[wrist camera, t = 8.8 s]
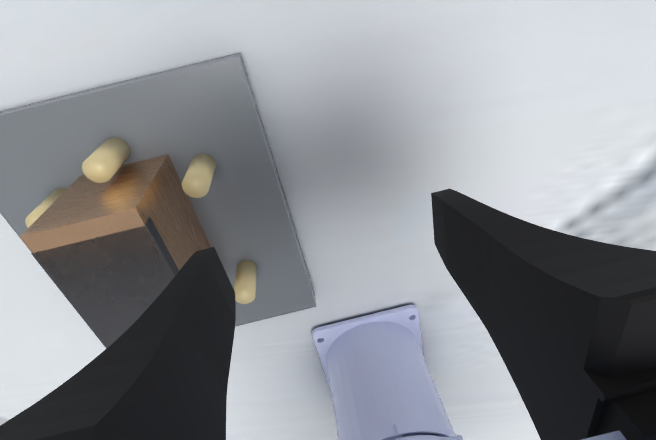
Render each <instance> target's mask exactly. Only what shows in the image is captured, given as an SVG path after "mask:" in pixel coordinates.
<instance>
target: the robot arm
mask: <svg viewBox="0 0 656 440" xmlns="http://www.w3.org/2000/svg"><path fill="white" fill-rule="evenodd" d="M431 195H432V210H433V225H434V240H435V245H436V247H437V250H438V252H439V254H440V256H441V258H442V260H443V262H444V264H445V266H446V268H447V270H448V271H449V273H450V274H451V276H452V277H453V279H454V280H455V282H456V283H457V285H458V286H459V288H460V289H461V291H462V292H463V294H464V295H465V297H466V298H467V300H468V301H469V303H470V304H471V306H472V307H473V309H474V310H475V312H476V313H477V315H478V316H479V317H480V319H481V321H482V322H483V324H484V325H485V327H486V329H487V330H488V332H489V334H490V336H491V338H492V340H493V342H494V343H495V345H496V347H497V349H498V351H499V353H500V355H501V357H502V359H503V361H504V363H505V365H506V367H507V369H508V371H509V373H510V375H511V377H512V379H513V381H514V383H515V385H516V387H517V389H518V391H519V393H520V395H521V397H522V399H523V401H524V404H525V406H526V408H527V410H528V412H529V414H530V416H531V418H532V421H533V423H534V425H535V427H536V429H537V432H538V434H539V436H540V438H541V440H656V251H651V250H644V249H637V248H630V247H624V246H618V245H612V244H607V243H602V242H597V241H593V240H588V239H583V238H579V237H575V236H571V235H567V234H564V233H560V232H557V231H553V230H550V229H547V228H543V227H540V226H537V225H534V224H531V223H529V222H526V221H523V220H521V219H518V218H515V217H513V216H510V215H508V214H505V213H503V212H501V211H498V210H496V209H494V208H491V207H489V206H487V205H485V204H483V203H480V202H478V201H476V200H474V199H472V198H470V197H468V196H465V195H463V194H461V193H459V192H457V191H454V190H452V189H447V190H443V191H439V192H435V193H431ZM411 315H413V316H411ZM235 321H236V302H235V291H234V289H233V287H232V285H231V282H230V280H229V278H228V276H227V274H226V271H225V269H224V267H223V265H222V263H221V261H220V258H219V256H218V254H217V252H216V250H215V248H214V247H211V248H207V249H203V250H199V251H196V252H195V253H194V254H193V255H192V256H191V257H190V258H189V259H188V261H187V262H186V263H185V264H184V266H183V267H182V268H181V269H180V271H179V272H178V273H177V274H176V276H175V277H174V278H173V279H172V280H171V282H170V283H169V284H168V285H167V287H166V288H165V289H164V290H163V291H162V293H161V294H160V295H159V296H158V297H157V298H156V299H155V301H154V302H153V303H152V304H151V305H150V306H149V307H148V308H147V309H146V311H145V312H144V313H143V314H142V315H141V316H140V317H139V318H138V319H137V320H136V321H135V322H134V323H133V324H132V325H131V326H130V327H129V328H128V329H127V330H126V331H125V332H124V333H123V334H122V335H121V336H120V337H119V338H118V339H117V340H116V341H115V342H114V343H113V344H111V345H110V346H109V347H108V348H107V349H106V350H105V351H103V352H102V353H101V354H100V355H99V356H97V357H96V358H95V359H94V360H93V361H91V362H90V363H89V364H88V365H86V366H85V367H84V368H83V369H82V370H80V371H79V372H78V373H77V374H75V375H74V376H73V377H71V378H70V379H69V380H67V381H66V382H65V383H63V384H62V385H61V386H59V387H58V388H57V389H55V390H54V391H52V392H51V393H49V394H48V395H47V396H45V397H44V398H42V399H41V400H39V401H38V402H37V403H35V404H34V405H32V406H31V407H29V408H28V409H26V410H24V411H23V412H21V413H20V414H18V415H17V416H15V417H13V418H12V419H10V420H9V421H7V422H6V423H4V424H3V425H1V426H0V440H226V395H227V384H228V376H229V368H230V361H231V353H232V346H233V338H234V330H235ZM312 337H313V340H314V343H315V346H316V349H317V352H318V355H319V358H320V360H321V363H322V366H323V369H324V372H325V375H326V378H327V381H328V384H329V387H330V390H331V393H332V399H333V406H334V413H335V419H336V426H337V433H338V439H339V440H463V439H462V436H461V435H456V436H455V433H454V431H453V428H452V426H451V424H450V421H449V419H448V416H447V414H446V411H445V409H444V407H443V404H442V402H441V399H440V397H439V394H438V392H437V389H436V387H435V385H434V382H433V380H432V377H431V375H430V372H429V370H428V368H427V365H426V363H425V360H424V358H423V349H422V340H421V331H420V322H419V313H418V309H417V307H416V306H415V305H407V306H403V307H399V308H395V309H391V310H386V311H382V312H378V313H374V314H370V315H366V316H362V317H358V318H354V319H350V320H346V321H342V322H338V323H334V324H330V325H325V326H321V327H317V328H315V329H314V330H313V331H312Z"/></svg>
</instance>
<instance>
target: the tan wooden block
mask: <svg viewBox="0 0 656 440" xmlns="http://www.w3.org/2000/svg"><path fill="white" fill-rule="evenodd" d="M20 238H21V239H22V241H23V242H24V243H25V244H26V246H27V247H28V248H29V249H30V251H31V252H32V253H31V254H32V255H33V256H34V258H35V259H36V260H37V261H38V263H39V264H40V265H41V266H42V268H43V269H44V270H45V272H46V273H47V274H48V275H49V277H50V278H51V279H52V280H53V282H54V283H55V284H56V285H57V287H58V288H59V289H60V290H61V292H62V293H63V294H64V295H65V297H66V298H67V299H68V301H69V302H70V303H71V304H72V306H73V307H74V308H75V309H76V311H77V312H78V313H79V314H80V316H81V317H82V318H83V319H84V321H85V322H86V323H87V325H88V326H89V327H90V328H91V330H92V331H93V332H94V333H95V335H96V336H97V337H98V338H99V340H100V341H101V342H102V343H103V345H104V346H105V347H106V348H108V347H109V346H110V345H111V344H113V343H114V342H115V341H116V340H117V339H118V338H119V337H120V336H121V335H122V334H123V333H124V332H125V331H126V330H127V329H128V328H129V327H130V326H131V325H132V324H133V323H134V322H135V321H136V320H137V319H138V318H139V317H140V316H141V315H142V314H143V313H144V312H145V311H146V309H147V308H148V307H149V306H150V305H151V304H152V303H153V302H154V301H155V299H156V298H157V297H158V296H159V295H160V294H161V293H162V291H163V290H164V289H165V288H166V287H167V285H168V284H169V283H170V282H171V280H172V279H173V278H174V277H175V276H176V274H177V273H178V272H179V271H180V269H181V268H182V267H183V266H184V264H185V263H186V262H187V261H188V259H189V258H190V257H191V256H192V255H193V254H194V253H195V252H196V251H199V250H203V249H207V248H211V245H210V243H209V241H208V239H207V237H206V234H205V232H204V230H203V228H202V226H201V224H200V222H199V219H198V217H197V215H196V213H195V211H194V209H193V206H192V204H191V202H190V200H189V198H188V196H187V194H186V193H185V192H184V191H183V189H182V183H181V181H180V178H179V176H178V174H177V172H176V170H175V168H174V166H173V163H172V161H171V159H170V157H169V155H168V154H166V155H162V156H158V157H154V158H149V159H145V160H141V161H137V162H133V163H129V164H125V165H121V167H120V168H119V169H118V170H117V172H116V173H115V174H114V175H113V176H112V178H111V179H110V180H109V181H107V182H104V183H97V182H94V181H92V180H90V179H88V178H87V177H86V176H85V174H84V175H80V176H79V177H78V178H77V179H76V180H75V181H74V182H73V183H72V184H71V185H70V186H69V187H68V188H67V189H66V190H65V191H64V192H63V193H62V195H61V196H60V197H59V198H58V199H57V200H56V201H55V202H54V203H53V204H52V205H51V206H50V207H49V208H48V209H47V210H46V211H45V212H44V213H43V214H42V215H41V216H40V217H39V218H38V219H37V220H36V221H35V222H34V223H33V224H32V225H31V226H30V227H29V228H28V229H27V230H26V231H25V232H24V233H23V234H22V235H21V236H20Z"/></svg>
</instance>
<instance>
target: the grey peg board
mask: <svg viewBox="0 0 656 440" xmlns="http://www.w3.org/2000/svg"><path fill="white" fill-rule="evenodd" d="M166 154H168V155H169V157H170V159H171V161H172V163H173V166H174V168H175V170H176V172H177V174H178V176H179V178H180V181H181V183H182V189H183V191H184V192H185V193H186V194H187V196H188V198H189V200H190V202H191V204H192V206H193V209H194V211H195V213H196V215H197V217H198V219H199V222H200V224H201V226H202V228H203V230H204V232H205V234H206V237H207V239H208V241H209V243H210V245H211V247H214V248H215V250H216V252H217V254H218V256H219V258H220V261H221V263H222V265H223V267H224V269H225V271H226V274H227V276H228V278H229V280H230V282H231V285H232V287H233V289H234V291H235V302H236V321H235V326H239V325H243V324H247V323H251V322H255V321H259V320H263V319H267V318H271V317H275V316H279V315H284V314H288V313H292V312H296V311H300V310H304V309H308V308H312V307H316V301H315V294H314V291H313V288H312V285H311V281H310V278H309V275H308V272H307V268H306V265H305V262H304V259H303V255H302V252H301V249H300V246H299V242H298V239H297V236H296V233H295V229H294V226H293V223H292V220H291V216H290V213H289V210H288V207H287V203H286V200H285V197H284V194H283V190H282V187H281V184H280V181H279V177H278V174H277V171H276V167H275V164H274V161H273V158H272V154H271V151H270V148H269V145H268V141H267V138H266V135H265V132H264V128H263V125H262V122H261V119H260V115H259V112H258V109H257V106H256V102H255V99H254V96H253V93H252V89H251V86H250V83H249V80H248V76H247V73H246V70H245V67H244V63H243V60H242V57H241V54H240V53H237V54H233V55H229V56H225V57H221V58H217V59H213V60H209V61H205V62H201V63H197V64H192V65H188V66H184V67H180V68H176V69H172V70H168V71H164V72H160V73H156V74H152V75H148V76H144V77H140V78H136V79H131V80H127V81H123V82H119V83H115V84H111V85H107V86H103V87H99V88H95V89H91V90H87V91H83V92H79V93H74V94H70V95H66V96H62V97H58V98H54V99H50V100H46V101H42V102H38V103H34V104H30V105H26V106H22V107H18V108H13V109H9V110H5V111H1V112H0V213H1V214H2V216H3V217H4V218H5V219H6V221H7V222H8V223H9V224H10V226H11V227H12V228H13V230H14V231H15V232H16V233H17V235H18V236H19V237H20V236H21V235H22V234H23V233H24V232H25V231H26V230H27V229H28V228H29V227H30V226H31V225H32V224H33V223H34V222H35V221H36V220H37V219H38V218H39V217H40V216H41V215H42V214H43V213H44V212H45V211H46V210H47V209H48V208H49V207H50V206H51V205H52V204H53V203H54V202H55V201H56V200H57V199H58V198H59V197H60V196H61V195H62V193H63V192H64V191H65V190H66V189H67V188H68V187H69V186H70V185H71V184H72V183H73V182H74V181H75V180H76V179H77V178H78V177H79V176H80V175H84V174H85V176H86V177H87V178H88V179H90V180H92V181H94V182H97V183H104V182H107V181H109V180H110V179H111V178H112V176H113V175H114V174H115V173H116V172H117V170H118V169H119V168H120V167H121V165H125V164H129V163H133V162H137V161H141V160H145V159H149V158H154V157H158V156H162V155H166ZM21 240H22V239H21ZM25 245H26V244H25ZM29 250H30V249H29Z"/></svg>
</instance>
